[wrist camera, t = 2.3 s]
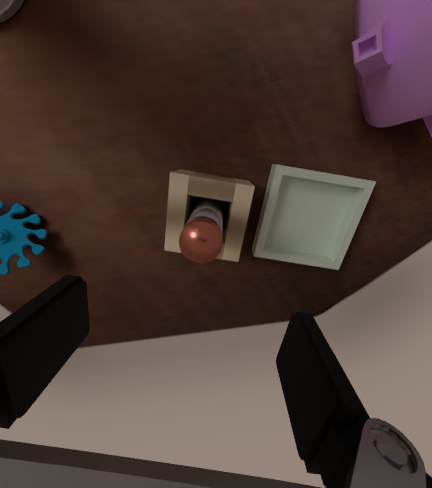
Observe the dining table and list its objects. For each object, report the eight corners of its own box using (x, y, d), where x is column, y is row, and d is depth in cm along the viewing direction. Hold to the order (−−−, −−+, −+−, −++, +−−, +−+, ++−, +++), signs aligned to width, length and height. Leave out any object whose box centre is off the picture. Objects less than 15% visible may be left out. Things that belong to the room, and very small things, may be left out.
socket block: (180, 169, 28) (170, 172, 22) (248, 180, 28) (255, 186, 23) (174, 233, 31) (164, 250, 26) (235, 243, 31) (238, 261, 26)
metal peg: (198, 193, 29) (180, 219, 17) (224, 197, 29) (225, 226, 17) (195, 219, 30) (176, 259, 18) (220, 223, 30) (218, 266, 18)
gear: (63, 243, 31) (-21, 291, 26) (67, 250, 36) (-2, 292, 31) (5, 179, 29) (-96, 217, 24) (19, 196, 34) (-62, 231, 29)
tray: (272, 163, 27) (276, 164, 25) (363, 179, 28) (376, 181, 25) (251, 249, 32) (253, 256, 29) (330, 261, 32) (338, 269, 30)
